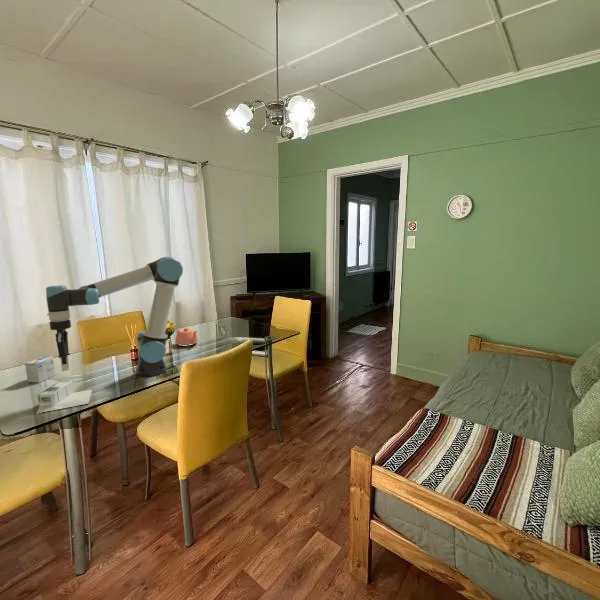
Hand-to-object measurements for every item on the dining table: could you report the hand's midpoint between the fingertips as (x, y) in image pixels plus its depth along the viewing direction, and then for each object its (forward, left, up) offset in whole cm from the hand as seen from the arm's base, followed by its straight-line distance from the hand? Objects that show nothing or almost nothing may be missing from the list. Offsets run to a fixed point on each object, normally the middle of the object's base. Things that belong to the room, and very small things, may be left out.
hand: (65, 370), depth 148 cm
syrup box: (+1, -3, -9) cm, 10 cm away
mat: (0, +7, -12) cm, 14 cm away
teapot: (-62, -60, -13) cm, 87 cm away
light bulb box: (+16, -31, -13) cm, 37 cm away
